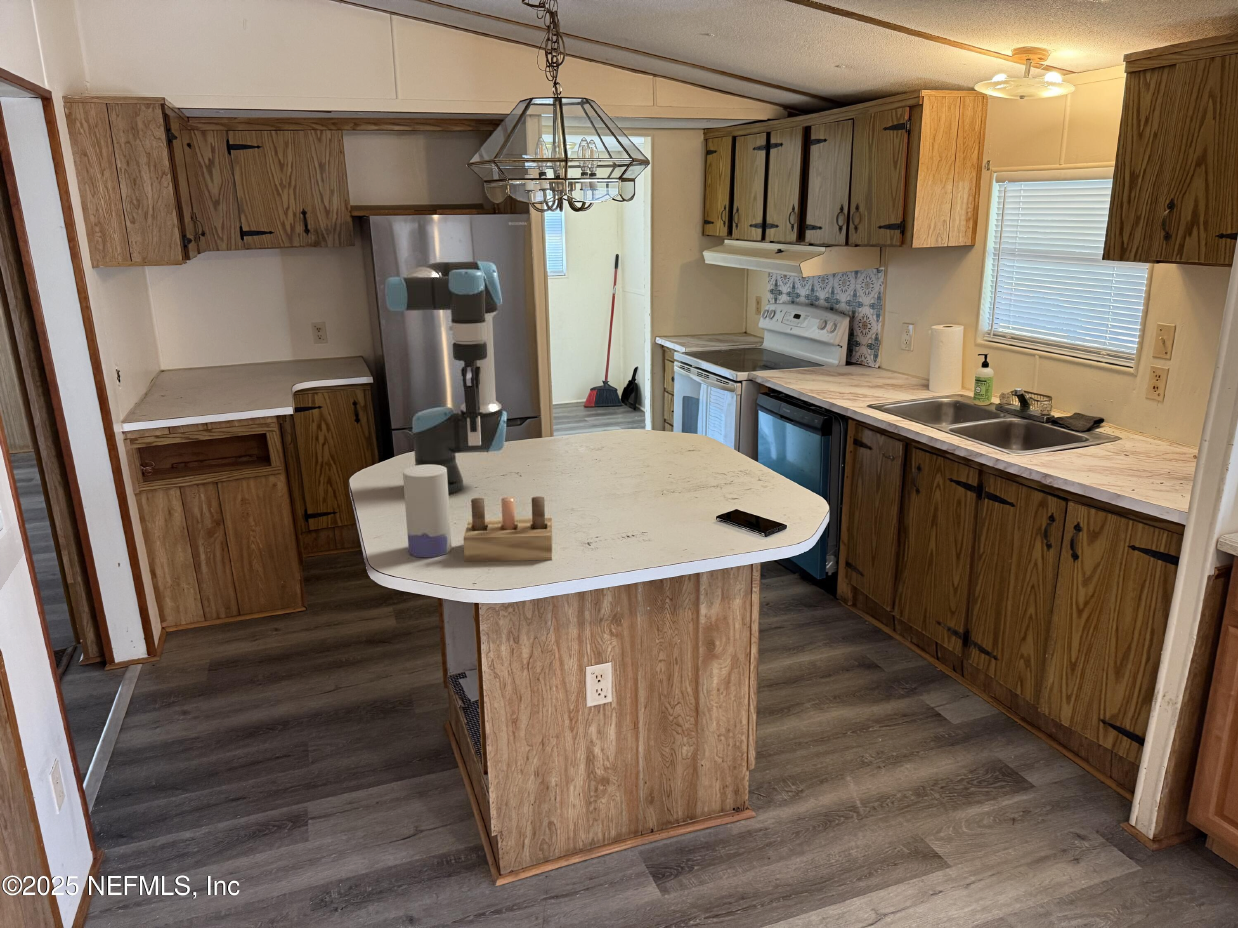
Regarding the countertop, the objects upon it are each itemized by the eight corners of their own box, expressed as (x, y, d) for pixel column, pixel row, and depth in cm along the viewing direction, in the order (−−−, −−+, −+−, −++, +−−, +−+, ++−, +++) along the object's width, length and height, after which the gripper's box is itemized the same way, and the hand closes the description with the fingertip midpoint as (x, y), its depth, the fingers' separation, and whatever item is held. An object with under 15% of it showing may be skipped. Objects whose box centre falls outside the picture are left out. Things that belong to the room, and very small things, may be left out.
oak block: (470, 542, 210) (468, 519, 208) (552, 540, 211) (551, 517, 209) (464, 561, 198) (463, 537, 197) (551, 559, 200) (551, 535, 198)
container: (454, 542, 210) (449, 463, 205) (448, 557, 201) (442, 475, 195) (413, 542, 210) (407, 464, 205) (404, 558, 200) (398, 476, 195)
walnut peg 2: (532, 528, 205) (531, 496, 203) (545, 528, 205) (544, 496, 203) (532, 532, 202) (531, 500, 200) (545, 532, 202) (544, 500, 200)
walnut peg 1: (473, 529, 204) (471, 497, 202) (486, 529, 204) (484, 497, 202) (472, 534, 201) (470, 501, 199) (485, 534, 202) (483, 501, 199)
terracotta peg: (503, 529, 205) (501, 497, 202) (515, 528, 205) (514, 496, 203) (502, 533, 202) (500, 501, 200) (515, 533, 202) (513, 500, 200)
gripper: (455, 337, 196) (461, 437, 203) (448, 345, 184) (454, 452, 190) (488, 337, 197) (493, 437, 203) (484, 345, 184) (489, 451, 191)
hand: (474, 444), depth 197 cm, fingers closed
